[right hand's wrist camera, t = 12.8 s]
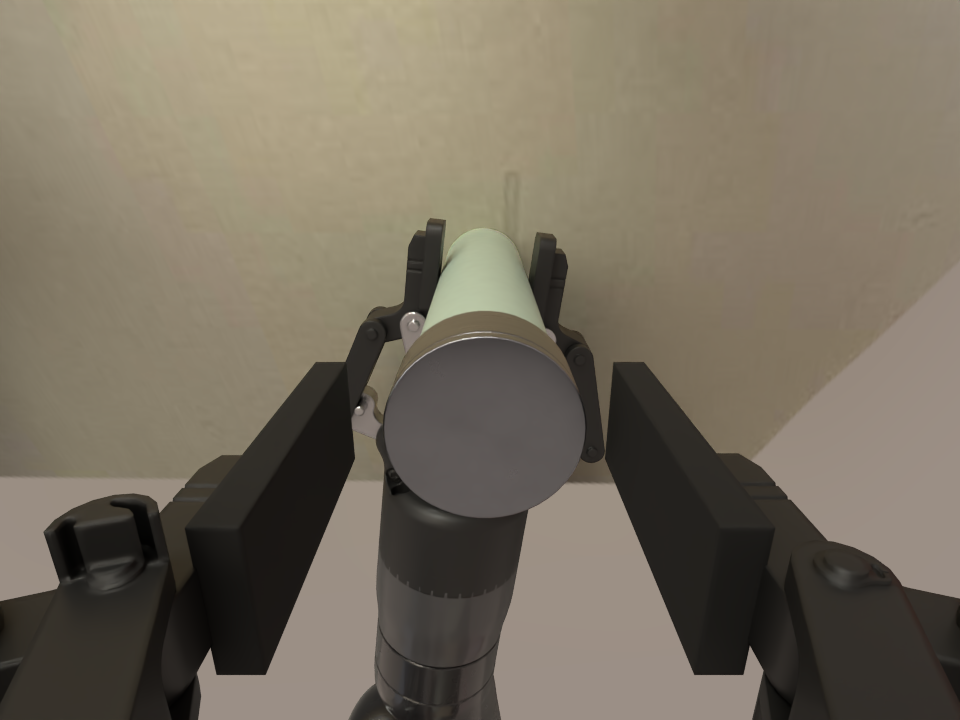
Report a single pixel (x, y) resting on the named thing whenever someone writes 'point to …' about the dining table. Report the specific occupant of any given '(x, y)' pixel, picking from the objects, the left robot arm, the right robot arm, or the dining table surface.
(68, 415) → the dining table surface
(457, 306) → the pale green bottle
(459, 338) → the lid
